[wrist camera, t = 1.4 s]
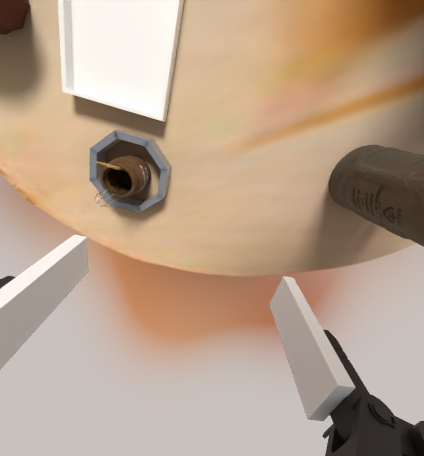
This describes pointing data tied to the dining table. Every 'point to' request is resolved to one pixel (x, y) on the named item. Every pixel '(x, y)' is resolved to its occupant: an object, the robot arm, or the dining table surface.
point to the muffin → (12, 14)
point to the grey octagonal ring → (100, 156)
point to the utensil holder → (124, 177)
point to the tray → (120, 52)
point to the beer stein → (383, 188)
